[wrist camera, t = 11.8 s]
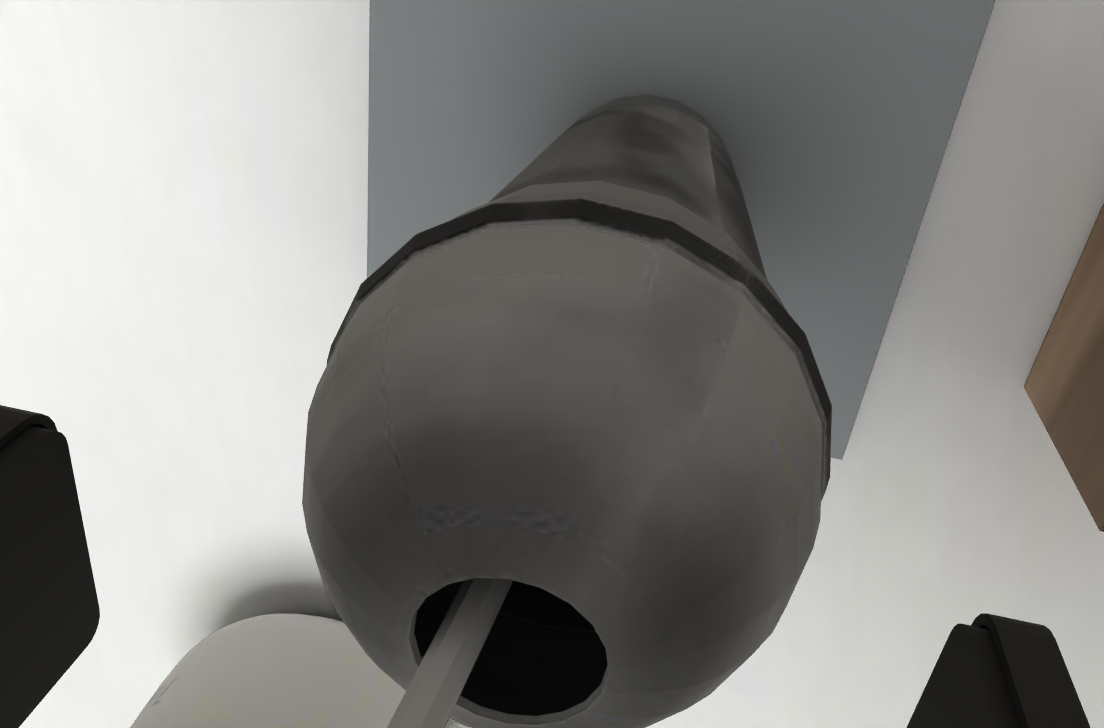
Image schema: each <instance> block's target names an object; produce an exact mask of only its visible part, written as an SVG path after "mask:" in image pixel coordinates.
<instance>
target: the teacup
mask: <svg viewBox="0 0 1104 728" xmlns="http://www.w3.org/2000/svg"><path fill="white" fill-rule="evenodd" d="M405 692H406V690H405V689H403V688H402V687H401V686H400V685H399V684H397V683H396V682H395V681H394V680H393V679H392V678H390V677H389V676H388V675H387V674H386V673H384V672H383V671H382V670H381V669H380V668H379V667H378V666H377V665H376V664H375V663H374V662H373V661H372V660H371V659H370V658H369V657H368V655H367V654H366V653H365V652H364V650H363V649H362V647H361V646H360V644H359V643H358V642H357V640H356V639H355V637H354V636H353V635H352V633H351V632H350V630H349V629H348V627H347V626H346V625H345V623H344V622H343V621H339V620H336V619H332V618H327V617H321V616H311V615H304V614H267V615H260V616H255V617H251V618H246V619H243V620H240V621H237V622H235V623H232V624H229V625H227V626H225V627H222V628H221V629H219V630H217V631H215V632H213V633H212V634H210V635H209V636H208V637H206V638H205V639H203V640H202V641H201V642H200V643H198V644H197V645H196V646H195V647H194V648H193V649H192V650H191V651H189V652H188V653H187V654H186V655H185V656H184V657H183V658H182V659H181V660H180V662H179V663H178V664H177V665H176V667H175V668H174V669H173V670H172V671H171V673H170V674H169V675H168V676H167V678H166V679H165V680H164V681H163V683H162V684H161V685H160V687H159V688H158V689H157V691H156V692H155V694H154V695H153V696H152V698H151V699H150V700H149V702H148V703H147V705H146V706H145V707H144V709H143V710H142V712H141V713H140V714H139V716H138V717H137V719H136V720H135V722H134V723H133V724H132V726H131V727H130V728H387V726H388V724H389V723H390V721H391V719H392V717H393V715H394V713H395V711H396V709H397V707H398V705H399V703H400V702H401V700H402V698H403V696H404V694H405Z"/></svg>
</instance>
